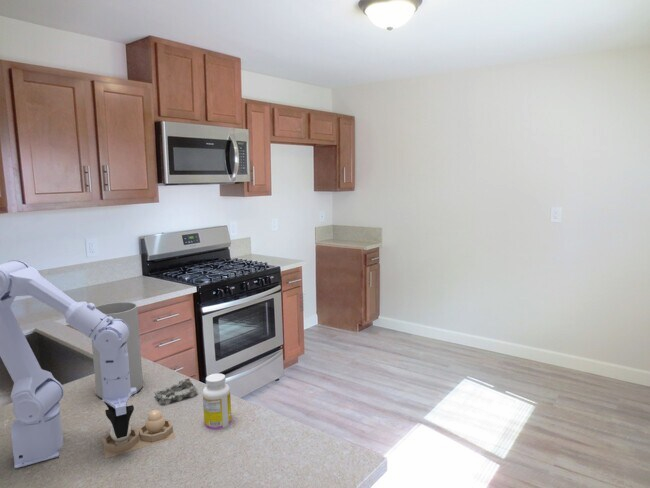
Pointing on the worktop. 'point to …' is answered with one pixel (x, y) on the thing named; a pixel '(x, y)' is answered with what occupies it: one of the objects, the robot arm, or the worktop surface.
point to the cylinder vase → (130, 317)
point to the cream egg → (122, 439)
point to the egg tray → (137, 440)
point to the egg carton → (176, 387)
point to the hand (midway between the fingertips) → (120, 430)
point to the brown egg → (155, 422)
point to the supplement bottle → (216, 402)
